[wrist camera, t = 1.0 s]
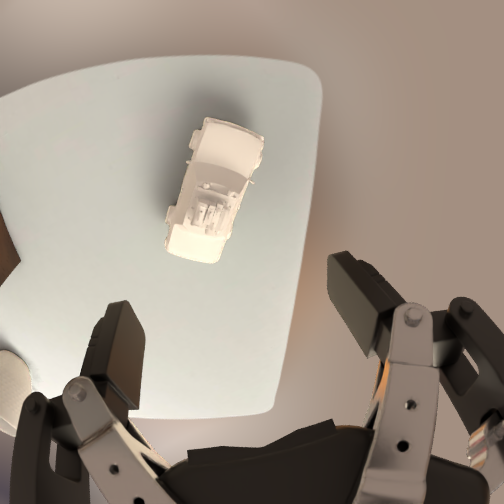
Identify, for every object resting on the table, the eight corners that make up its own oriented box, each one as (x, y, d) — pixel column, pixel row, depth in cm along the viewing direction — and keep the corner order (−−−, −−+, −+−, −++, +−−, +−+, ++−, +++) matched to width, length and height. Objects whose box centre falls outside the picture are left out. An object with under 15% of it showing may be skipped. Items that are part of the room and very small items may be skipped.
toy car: (264, 135, 22) (288, 143, 16) (218, 250, 27) (226, 292, 21) (200, 112, 20) (200, 111, 15) (160, 235, 25) (151, 274, 19)
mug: (56, 396, 35) (45, 453, 24) (17, 386, 33) (3, 437, 22) (22, 345, 28) (-3, 410, 17) (-17, 335, 26) (-44, 391, 15)
